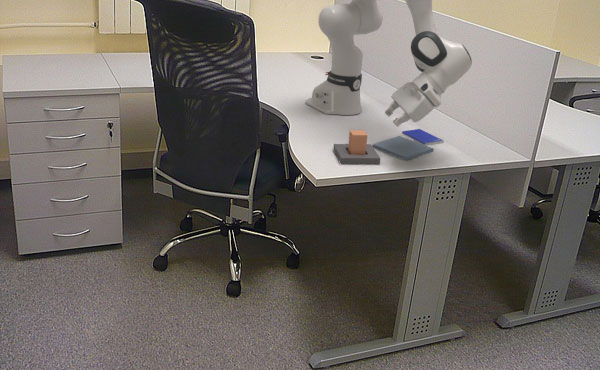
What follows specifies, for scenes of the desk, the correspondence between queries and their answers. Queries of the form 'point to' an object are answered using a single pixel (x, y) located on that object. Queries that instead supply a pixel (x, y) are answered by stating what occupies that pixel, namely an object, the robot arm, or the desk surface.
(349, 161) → the pocket holder
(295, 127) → the desk surface
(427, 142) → the hard drive
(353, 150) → the terracotta block
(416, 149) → the slate mat
